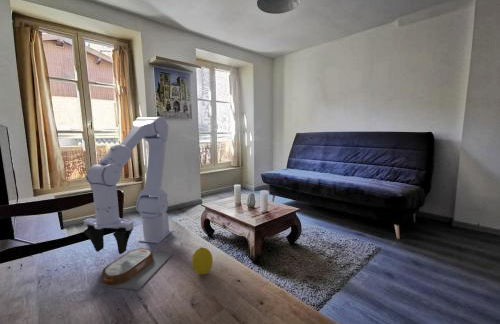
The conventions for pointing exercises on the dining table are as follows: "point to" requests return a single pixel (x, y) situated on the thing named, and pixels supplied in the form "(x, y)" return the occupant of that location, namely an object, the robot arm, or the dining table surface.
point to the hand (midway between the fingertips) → (111, 251)
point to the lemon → (202, 261)
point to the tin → (127, 266)
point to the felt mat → (144, 272)
